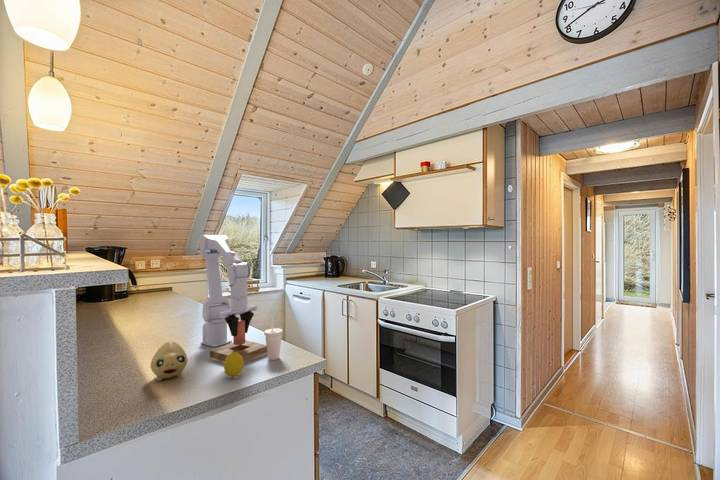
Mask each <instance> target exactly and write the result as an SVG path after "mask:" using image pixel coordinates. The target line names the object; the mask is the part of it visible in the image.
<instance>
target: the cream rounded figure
mask: <svg viewBox="0 0 720 480" xmlns="http://www.w3.org/2000/svg"><path fill="white" fill-rule="evenodd" d="M188 360H189V359H188V356H187V353H186V351H185V350H184V349H183V347H181V345H180V344H178V343H176V342H175V341H167V342H164V344H162V345H161V346H160V347H159V348H158V349H157V351H156V352H155V353H154V355H153V357H152V358H151V361H150V366H149V367H150V369H151V372H152V373H153V374H154V375H155V376H156V380H157V381H162V380H163V379H171V378H173V377H177V378H181V377H182V373H183V371H184V370H185V369H186V367H187V365H188Z"/></svg>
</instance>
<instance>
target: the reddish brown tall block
mask: <svg viewBox="0 0 720 480" xmlns="http://www.w3.org/2000/svg"><path fill="white" fill-rule="evenodd" d="M232 337H233V339H232V343H233V344H234V345H241V344H244V343H245V340H246V333H245V320H241V319H239V320H238V325H237V336H232Z"/></svg>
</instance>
